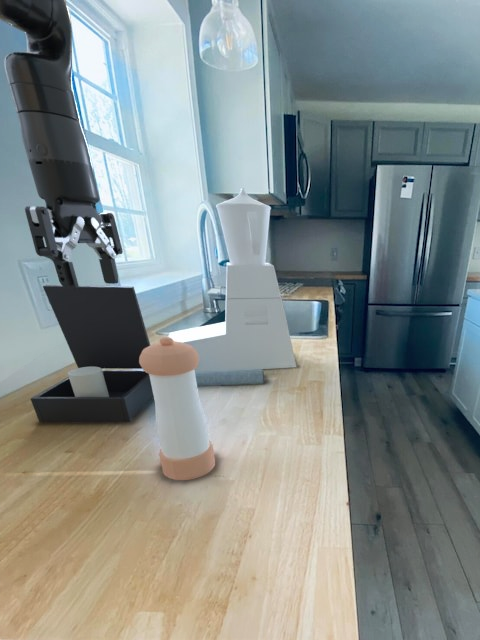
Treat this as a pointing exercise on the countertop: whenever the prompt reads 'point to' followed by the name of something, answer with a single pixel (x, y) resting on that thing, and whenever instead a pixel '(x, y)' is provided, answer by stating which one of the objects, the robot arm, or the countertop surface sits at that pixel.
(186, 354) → the salt shaker
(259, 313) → the blender
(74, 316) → the lid
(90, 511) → the countertop surface
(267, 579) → the countertop surface
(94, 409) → the black hinged box
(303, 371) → the countertop surface
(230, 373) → the grey folded cloth
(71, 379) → the container
